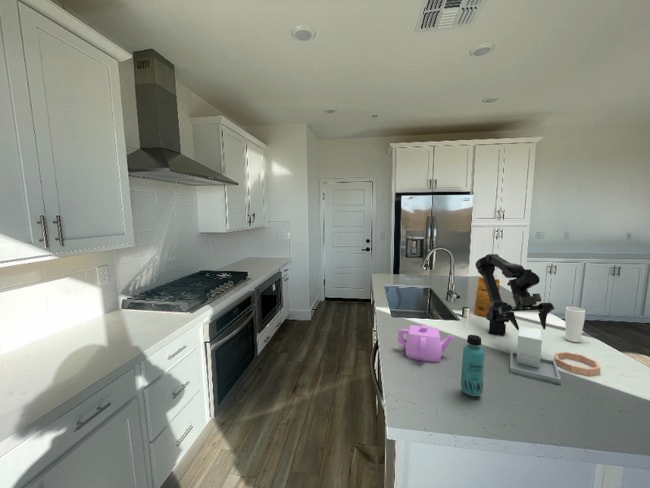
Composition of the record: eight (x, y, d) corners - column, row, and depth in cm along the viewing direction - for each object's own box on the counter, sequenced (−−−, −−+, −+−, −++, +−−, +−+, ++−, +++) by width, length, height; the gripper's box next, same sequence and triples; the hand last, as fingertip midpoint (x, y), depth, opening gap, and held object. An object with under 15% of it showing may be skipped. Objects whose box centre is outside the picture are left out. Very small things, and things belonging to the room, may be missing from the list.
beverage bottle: (456, 389, 96) (458, 332, 94) (475, 387, 97) (477, 331, 95) (467, 401, 90) (470, 341, 88) (487, 400, 90) (490, 340, 88)
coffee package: (477, 310, 173) (479, 274, 170) (500, 315, 164) (502, 278, 161) (471, 314, 166) (473, 277, 163) (495, 320, 157) (497, 281, 155)
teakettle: (394, 350, 125) (395, 323, 123) (423, 341, 132) (424, 316, 131) (423, 368, 109) (424, 338, 108) (454, 358, 117) (455, 329, 115)
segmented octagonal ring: (557, 369, 108) (557, 362, 107) (553, 355, 118) (553, 349, 118) (602, 379, 101) (603, 372, 100) (594, 363, 111) (594, 357, 111)
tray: (510, 372, 106) (510, 367, 105) (510, 355, 118) (510, 351, 118) (560, 385, 98) (561, 379, 98) (555, 365, 110) (555, 360, 110)
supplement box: (539, 356, 113) (542, 329, 109) (539, 368, 107) (542, 340, 103) (516, 351, 117) (518, 325, 113) (515, 362, 111) (517, 335, 108)
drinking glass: (586, 344, 127) (589, 312, 125) (569, 343, 128) (571, 311, 127) (576, 337, 134) (579, 307, 132) (559, 336, 135) (562, 306, 133)
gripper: (499, 288, 118) (510, 326, 111) (552, 284, 112) (567, 325, 105) (494, 296, 127) (503, 331, 120) (542, 292, 122) (555, 330, 115)
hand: (531, 329), depth 115 cm, fingers open, 9 cm apart
